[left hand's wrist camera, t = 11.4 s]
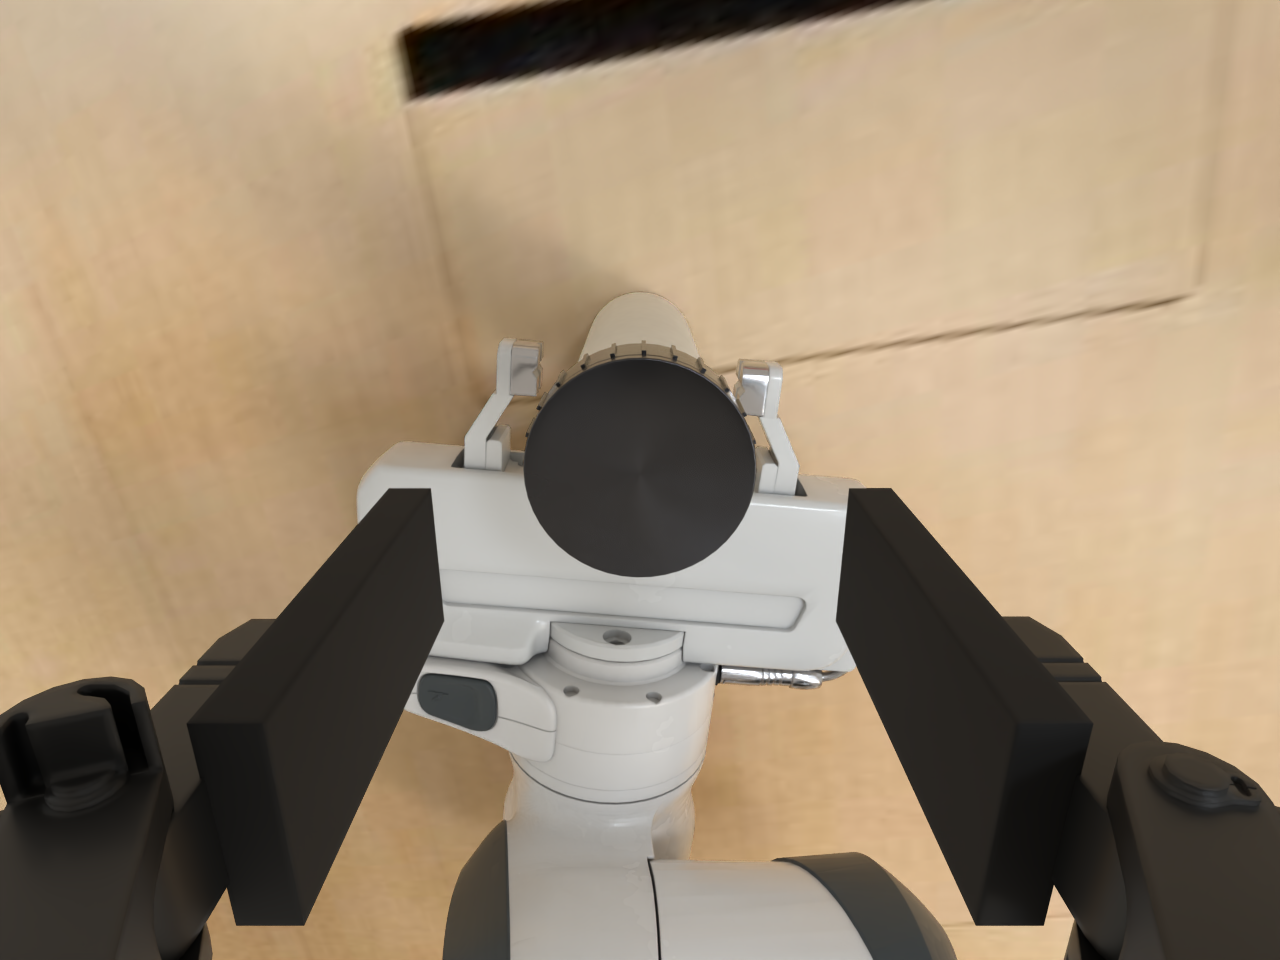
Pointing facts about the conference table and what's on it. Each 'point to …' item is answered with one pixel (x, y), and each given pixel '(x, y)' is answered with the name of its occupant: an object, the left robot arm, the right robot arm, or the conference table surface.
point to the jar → (640, 324)
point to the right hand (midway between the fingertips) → (641, 352)
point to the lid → (639, 461)
